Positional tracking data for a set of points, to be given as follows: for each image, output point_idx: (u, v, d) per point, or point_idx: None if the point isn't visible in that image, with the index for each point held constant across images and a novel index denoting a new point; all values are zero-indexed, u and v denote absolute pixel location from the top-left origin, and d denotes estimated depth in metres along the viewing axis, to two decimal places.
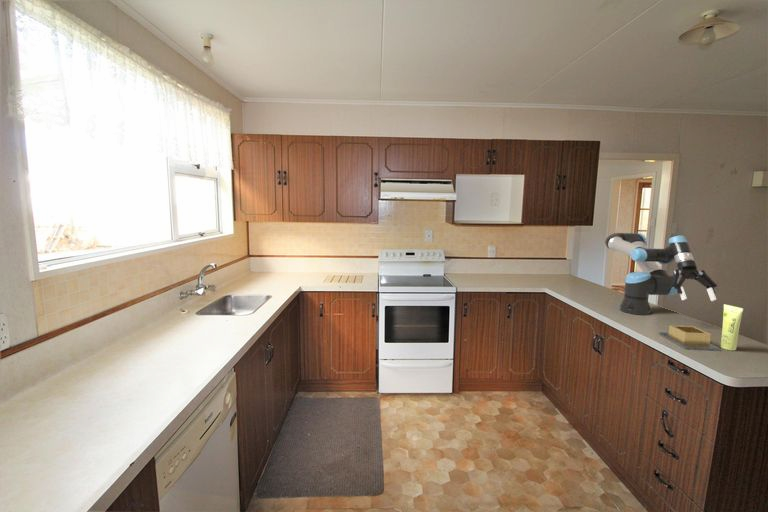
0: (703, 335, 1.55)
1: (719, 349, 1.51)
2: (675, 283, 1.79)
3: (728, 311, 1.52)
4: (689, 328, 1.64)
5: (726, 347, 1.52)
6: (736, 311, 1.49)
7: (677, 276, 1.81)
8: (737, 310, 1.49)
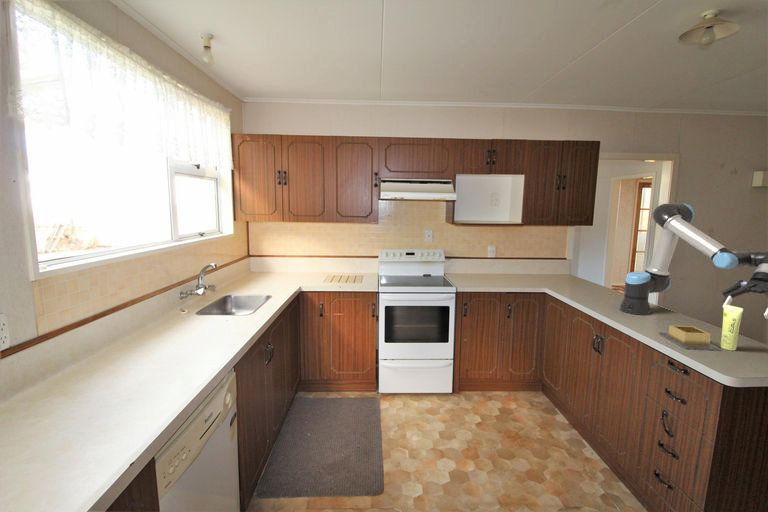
0: (703, 335, 1.55)
1: (719, 349, 1.51)
2: None
3: (728, 311, 1.52)
4: (689, 328, 1.64)
5: (726, 347, 1.52)
6: (736, 311, 1.49)
7: None
8: (737, 310, 1.49)
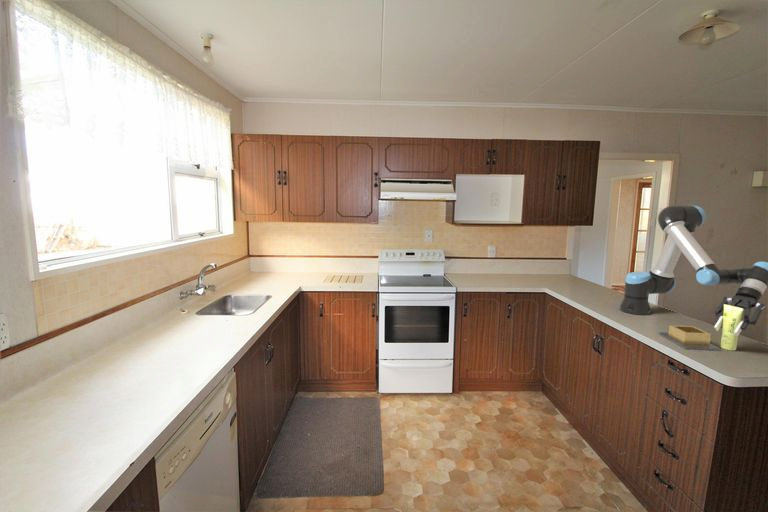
0: (703, 335, 1.55)
1: (719, 349, 1.51)
2: None
3: (728, 310, 1.52)
4: (689, 328, 1.64)
5: (726, 347, 1.52)
6: (736, 311, 1.49)
7: None
8: (737, 310, 1.49)
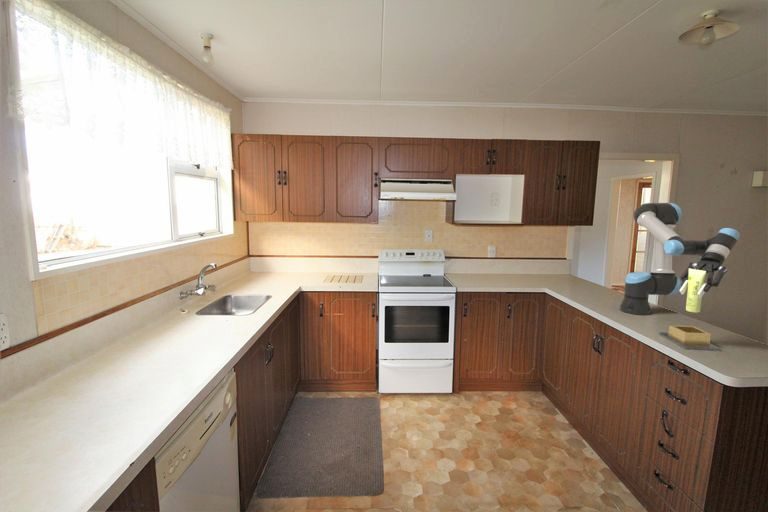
0: (703, 335, 1.55)
1: (719, 349, 1.51)
2: None
3: (692, 274, 1.57)
4: (689, 328, 1.64)
5: (690, 309, 1.57)
6: (699, 274, 1.54)
7: None
8: (700, 273, 1.54)
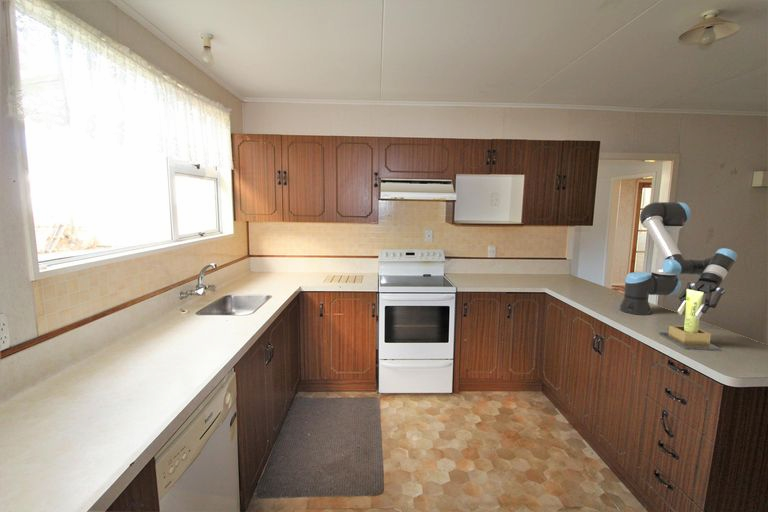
0: (703, 335, 1.55)
1: (719, 349, 1.51)
2: None
3: (690, 295, 1.58)
4: None
5: (688, 330, 1.58)
6: (697, 295, 1.55)
7: None
8: (698, 294, 1.55)
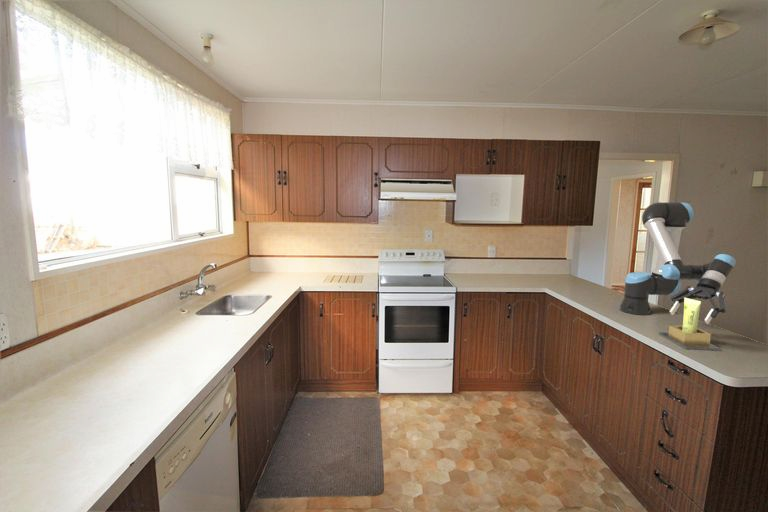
0: (703, 335, 1.55)
1: (719, 349, 1.51)
2: None
3: (688, 304, 1.59)
4: None
5: None
6: (694, 304, 1.57)
7: None
8: (695, 303, 1.56)
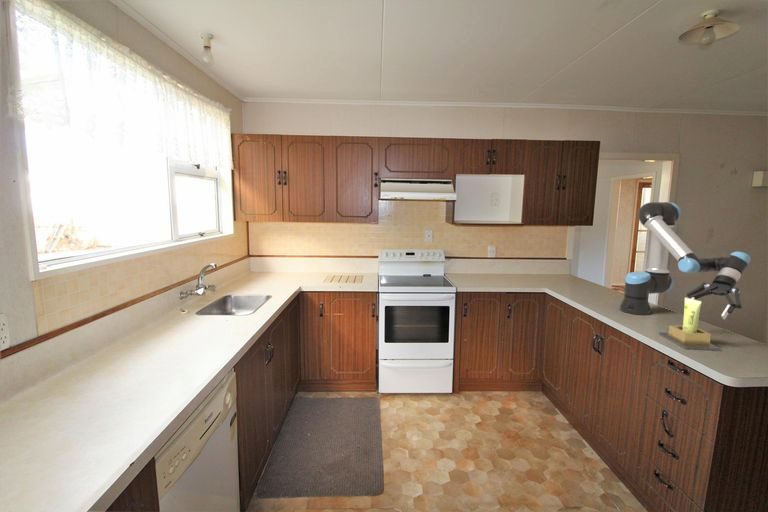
0: (703, 335, 1.55)
1: (719, 349, 1.51)
2: None
3: (688, 304, 1.59)
4: None
5: None
6: (695, 304, 1.57)
7: None
8: (696, 303, 1.56)
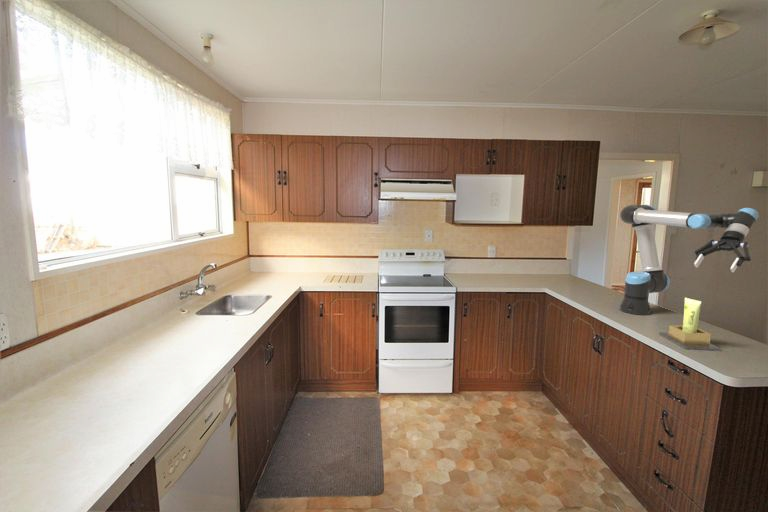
0: (703, 335, 1.55)
1: (719, 349, 1.51)
2: None
3: (688, 304, 1.59)
4: None
5: None
6: (695, 304, 1.57)
7: None
8: (696, 303, 1.56)
